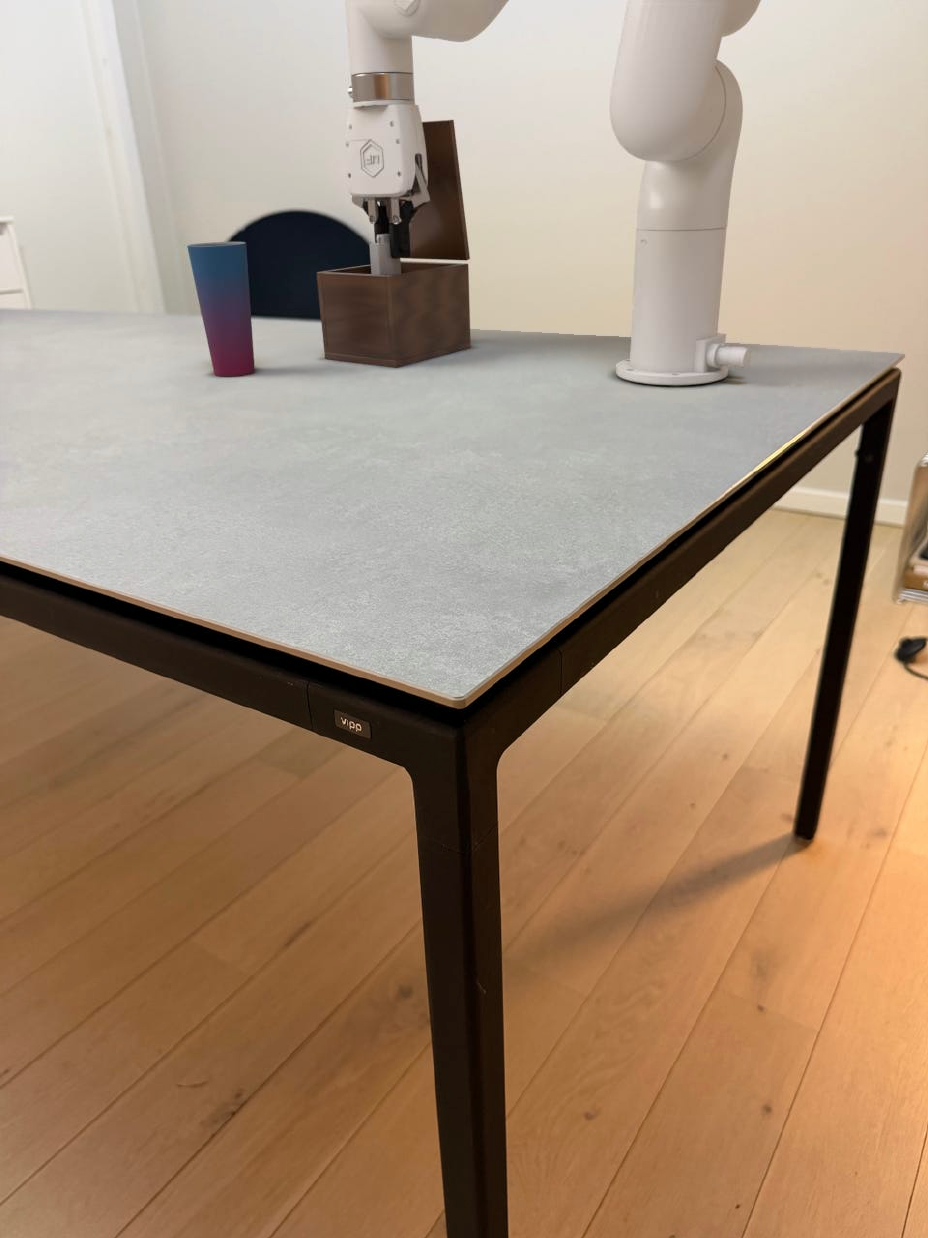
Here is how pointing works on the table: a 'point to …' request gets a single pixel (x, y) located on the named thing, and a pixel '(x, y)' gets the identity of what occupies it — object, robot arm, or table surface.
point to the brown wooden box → (395, 313)
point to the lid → (440, 200)
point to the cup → (225, 304)
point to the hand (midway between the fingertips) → (393, 256)
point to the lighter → (384, 257)
